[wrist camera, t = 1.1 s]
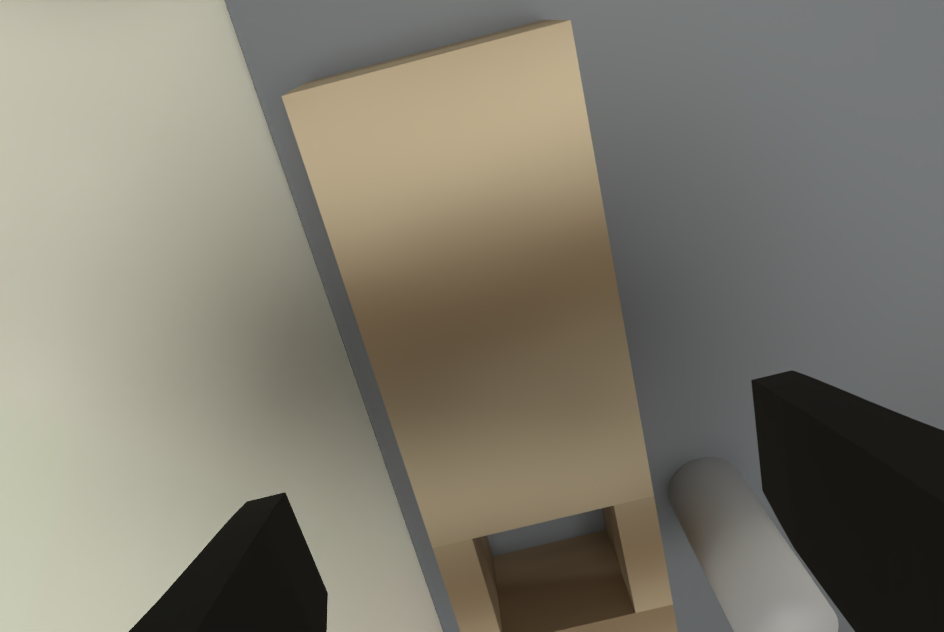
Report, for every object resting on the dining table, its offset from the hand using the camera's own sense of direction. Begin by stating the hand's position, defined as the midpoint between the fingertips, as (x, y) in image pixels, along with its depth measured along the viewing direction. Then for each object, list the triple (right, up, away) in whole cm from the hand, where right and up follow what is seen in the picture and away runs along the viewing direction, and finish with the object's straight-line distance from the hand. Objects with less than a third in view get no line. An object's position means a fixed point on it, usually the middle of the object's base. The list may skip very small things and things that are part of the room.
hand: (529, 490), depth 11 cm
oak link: (0, +2, +7) cm, 7 cm away
